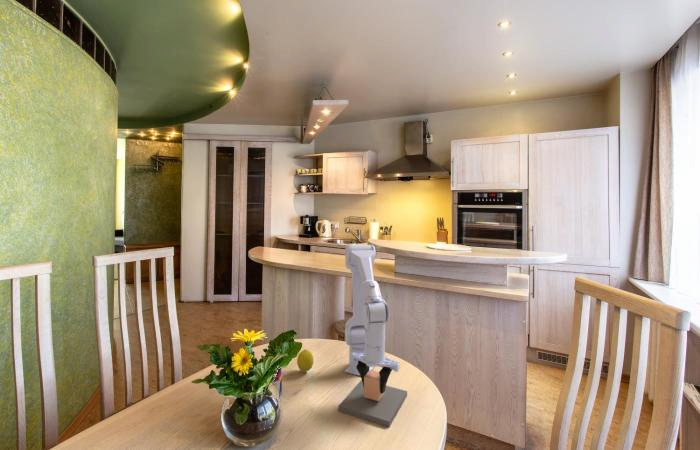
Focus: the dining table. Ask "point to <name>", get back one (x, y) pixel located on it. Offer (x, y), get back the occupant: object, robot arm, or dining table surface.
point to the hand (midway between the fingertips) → (374, 389)
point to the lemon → (305, 360)
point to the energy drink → (278, 381)
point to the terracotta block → (372, 385)
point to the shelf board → (374, 405)
